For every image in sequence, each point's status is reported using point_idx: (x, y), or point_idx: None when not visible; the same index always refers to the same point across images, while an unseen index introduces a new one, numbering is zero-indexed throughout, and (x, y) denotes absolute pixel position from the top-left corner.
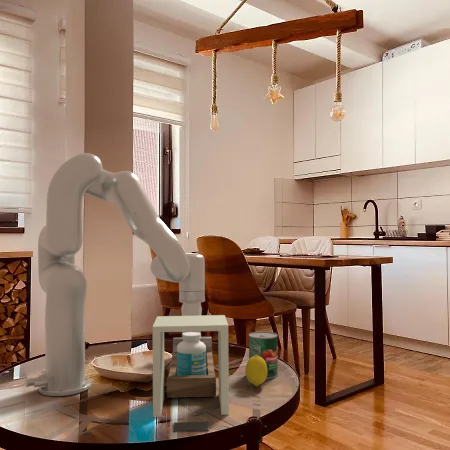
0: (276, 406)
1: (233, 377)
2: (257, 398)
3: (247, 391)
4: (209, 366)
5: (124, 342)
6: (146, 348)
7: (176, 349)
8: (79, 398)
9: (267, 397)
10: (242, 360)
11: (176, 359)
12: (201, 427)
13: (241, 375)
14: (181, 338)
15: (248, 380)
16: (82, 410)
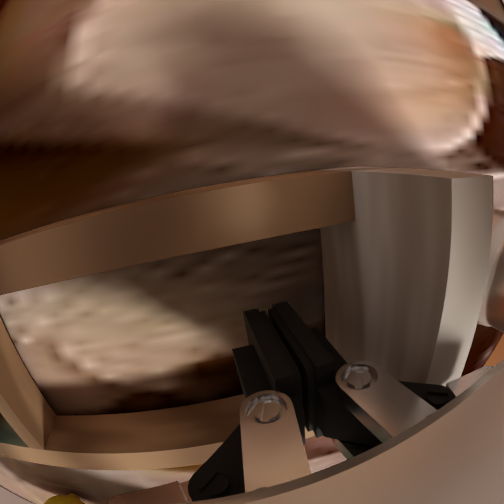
0: (4, 486)
1: (120, 470)
2: (12, 477)
3: (32, 475)
4: (52, 455)
5: (499, 7)
6: (488, 49)
7: (370, 207)
8: None
9: (28, 490)
10: (337, 452)
11: (101, 264)
12: None
13: (151, 483)
14: (457, 288)
15: (55, 497)
16: None
